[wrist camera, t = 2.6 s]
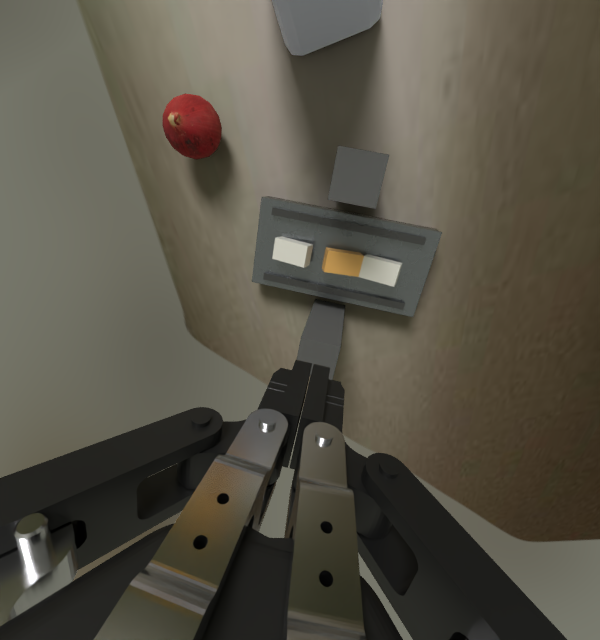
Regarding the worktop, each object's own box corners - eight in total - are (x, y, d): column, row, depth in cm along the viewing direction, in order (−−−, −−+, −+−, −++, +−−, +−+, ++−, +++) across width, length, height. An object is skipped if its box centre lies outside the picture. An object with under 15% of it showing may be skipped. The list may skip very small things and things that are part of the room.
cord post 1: (345, 305, 43) (340, 346, 32) (338, 332, 44) (332, 380, 33) (315, 299, 43) (300, 337, 32) (309, 326, 45) (294, 371, 34)
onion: (237, 154, 38) (208, 147, 31) (193, 166, 39) (156, 161, 32) (223, 97, 36) (189, 74, 29) (177, 111, 37) (133, 93, 30)
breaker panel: (435, 229, 37) (443, 233, 34) (409, 308, 41) (413, 318, 38) (268, 196, 39) (260, 197, 36) (258, 275, 43) (250, 283, 40)
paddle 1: (313, 244, 36) (307, 246, 35) (309, 265, 37) (303, 267, 36) (281, 236, 38) (275, 237, 36) (278, 256, 38) (272, 258, 37)
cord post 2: (379, 164, 36) (389, 154, 25) (370, 202, 37) (375, 208, 26) (344, 157, 36) (338, 145, 25) (336, 195, 38) (327, 199, 27)
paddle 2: (402, 263, 35) (400, 265, 34) (396, 283, 36) (393, 286, 35) (367, 254, 37) (363, 255, 35) (362, 274, 38) (358, 276, 36)
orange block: (360, 252, 37) (363, 256, 35) (355, 272, 38) (358, 276, 36) (325, 247, 36) (328, 250, 35) (321, 268, 37) (324, 272, 36)
